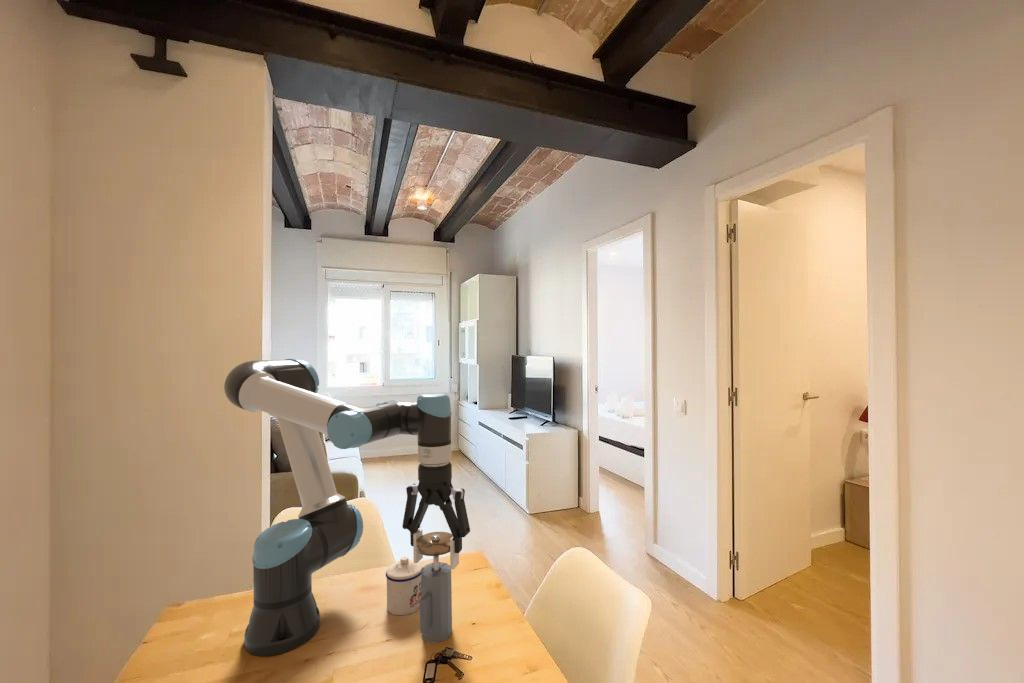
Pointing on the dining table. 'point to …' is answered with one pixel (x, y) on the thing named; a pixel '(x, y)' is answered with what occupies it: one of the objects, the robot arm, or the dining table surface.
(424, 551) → the plunger
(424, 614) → the cylinder
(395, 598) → the teacup with lid
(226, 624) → the dining table surface
